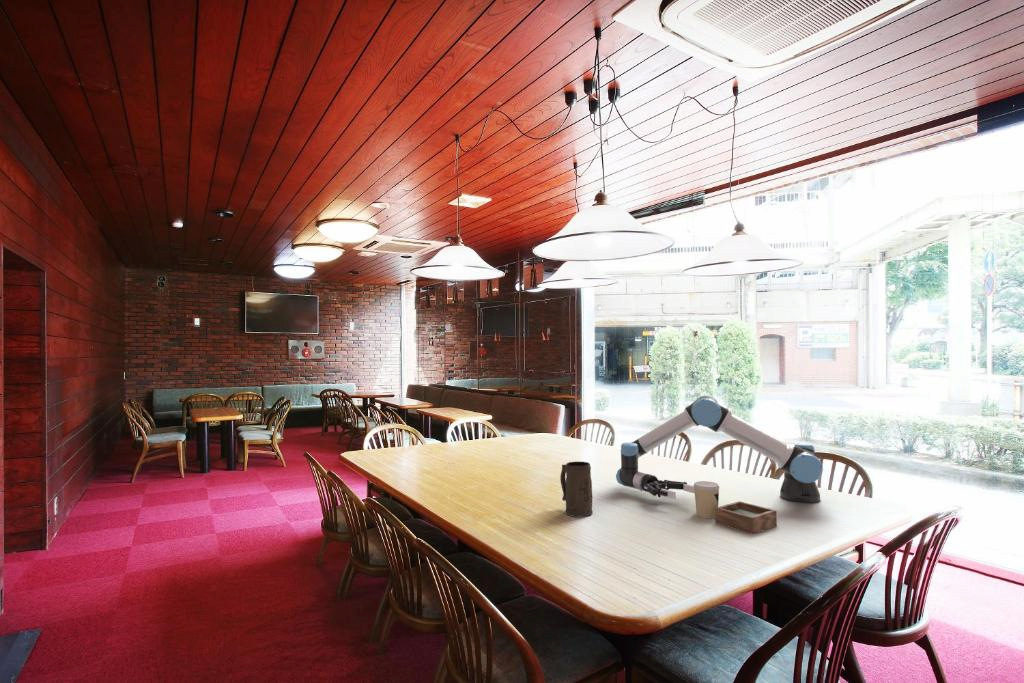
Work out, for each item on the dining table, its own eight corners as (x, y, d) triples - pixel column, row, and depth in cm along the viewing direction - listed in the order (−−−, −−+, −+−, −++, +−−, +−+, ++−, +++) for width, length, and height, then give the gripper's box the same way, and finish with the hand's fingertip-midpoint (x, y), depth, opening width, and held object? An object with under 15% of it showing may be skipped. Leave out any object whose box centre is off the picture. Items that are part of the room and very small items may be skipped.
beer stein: (599, 512, 208) (596, 461, 209) (583, 519, 200) (580, 466, 201) (568, 508, 218) (565, 459, 220) (552, 514, 210) (549, 463, 212)
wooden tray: (739, 515, 202) (739, 501, 202) (776, 525, 190) (776, 510, 190) (715, 522, 194) (715, 507, 194) (752, 534, 182) (752, 517, 182)
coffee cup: (722, 519, 198) (721, 487, 198) (696, 518, 200) (695, 486, 200) (717, 512, 207) (716, 481, 207) (692, 511, 209) (692, 480, 209)
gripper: (665, 486, 236) (706, 497, 218) (625, 495, 222) (665, 507, 205) (665, 470, 236) (705, 479, 218) (625, 477, 222) (665, 488, 205)
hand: (686, 493), depth 211 cm, fingers open, 13 cm apart
